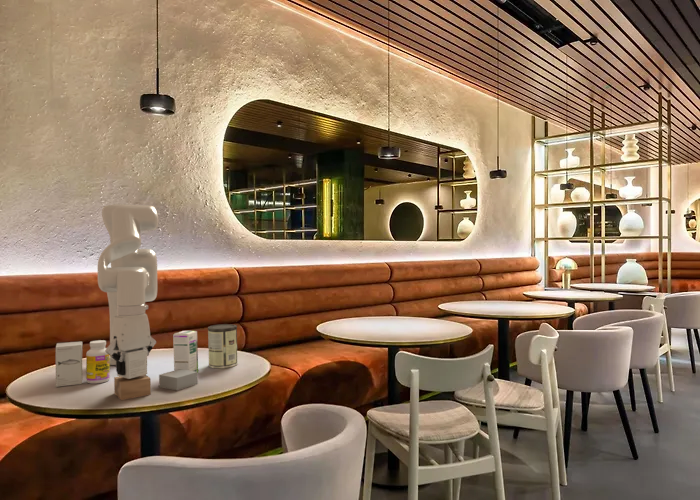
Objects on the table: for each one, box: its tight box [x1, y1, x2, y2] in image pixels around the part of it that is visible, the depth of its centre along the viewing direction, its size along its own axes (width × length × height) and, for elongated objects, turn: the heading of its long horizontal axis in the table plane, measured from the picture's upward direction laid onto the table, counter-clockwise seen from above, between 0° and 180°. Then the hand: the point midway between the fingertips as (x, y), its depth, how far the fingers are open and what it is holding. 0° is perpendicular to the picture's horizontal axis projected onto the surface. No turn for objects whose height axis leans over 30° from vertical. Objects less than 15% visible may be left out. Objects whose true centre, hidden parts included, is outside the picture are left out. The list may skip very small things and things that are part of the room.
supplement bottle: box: [85, 339, 111, 384], centre depth 157 cm, size 7×7×13 cm
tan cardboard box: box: [113, 374, 152, 401], centre depth 143 cm, size 8×8×5 cm
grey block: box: [158, 369, 199, 391], centre depth 152 cm, size 8×8×4 cm
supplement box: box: [55, 341, 83, 388], centre depth 155 cm, size 7×7×13 cm
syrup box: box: [172, 330, 199, 373], centre depth 164 cm, size 6×6×14 cm
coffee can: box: [207, 323, 238, 369], centre depth 177 cm, size 10×10×14 cm
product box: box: [116, 349, 148, 379], centre depth 143 cm, size 6×6×7 cm
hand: (132, 371), depth 143 cm, fingers closed on product box, 6 cm apart
